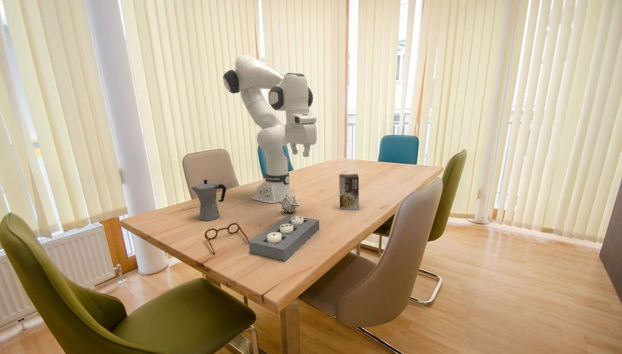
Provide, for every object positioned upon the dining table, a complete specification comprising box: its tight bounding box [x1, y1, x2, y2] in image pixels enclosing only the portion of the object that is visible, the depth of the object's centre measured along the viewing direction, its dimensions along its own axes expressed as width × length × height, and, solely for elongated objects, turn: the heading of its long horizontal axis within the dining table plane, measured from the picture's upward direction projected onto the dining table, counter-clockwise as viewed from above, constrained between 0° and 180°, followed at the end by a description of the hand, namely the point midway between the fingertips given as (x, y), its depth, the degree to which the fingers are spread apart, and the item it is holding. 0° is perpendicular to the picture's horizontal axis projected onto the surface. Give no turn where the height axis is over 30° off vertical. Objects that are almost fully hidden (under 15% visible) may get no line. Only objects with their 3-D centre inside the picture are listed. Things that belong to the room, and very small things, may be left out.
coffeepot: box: [191, 179, 227, 222], centre depth 122 cm, size 15×9×18 cm, turn 92°
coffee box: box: [338, 173, 360, 211], centre depth 129 cm, size 9×6×16 cm
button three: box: [280, 223, 293, 235], centre depth 98 cm, size 5×5×4 cm
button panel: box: [248, 214, 320, 262], centre depth 99 cm, size 14×26×4 cm, turn 154°
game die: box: [278, 195, 300, 215], centre depth 126 cm, size 9×8×10 cm
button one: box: [267, 232, 282, 245], centre depth 92 cm, size 5×5×4 cm
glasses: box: [204, 222, 250, 255], centre depth 99 cm, size 13×13×5 cm
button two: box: [291, 215, 304, 226], centre depth 105 cm, size 5×5×4 cm
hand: (300, 155), depth 103 cm, fingers open, 8 cm apart
